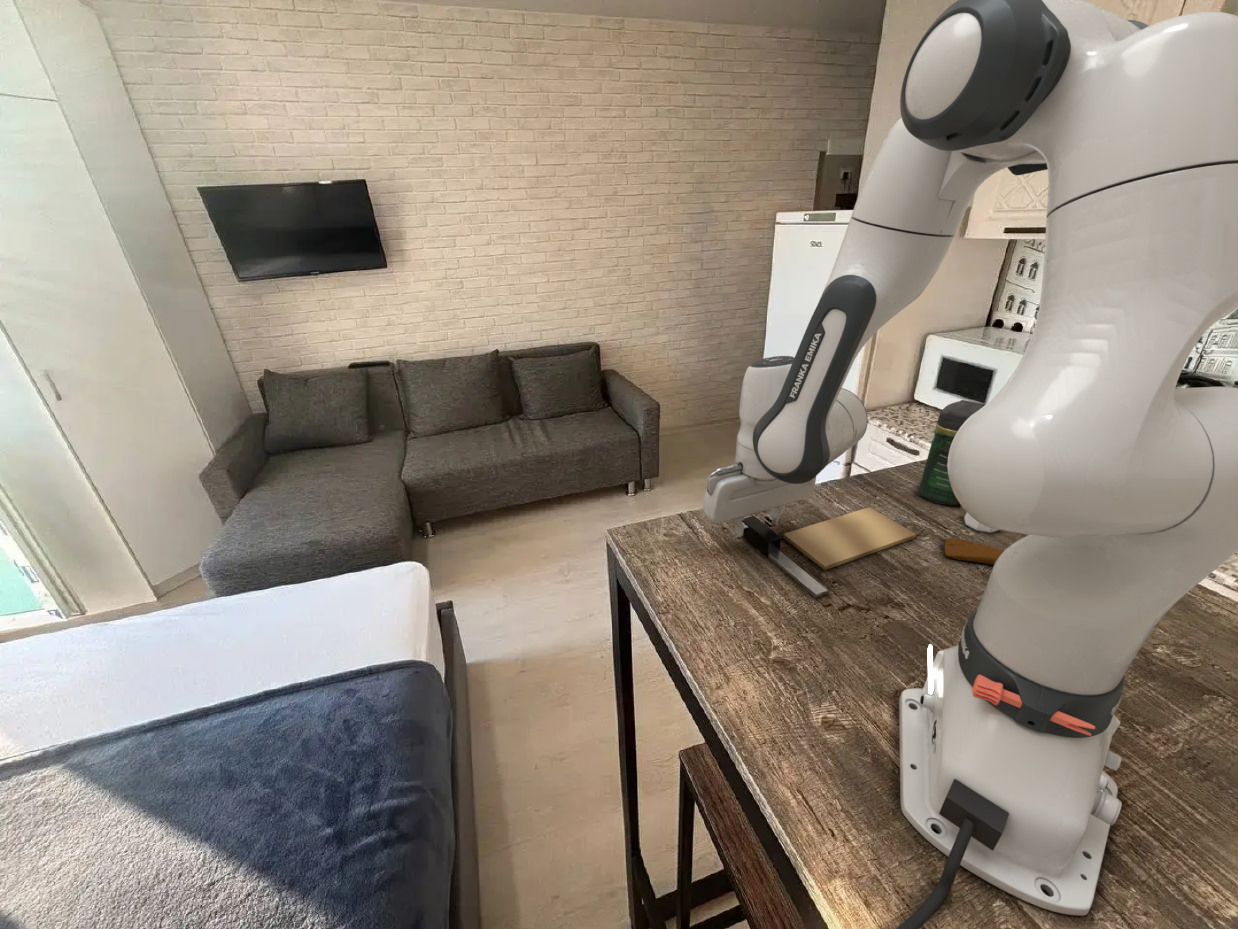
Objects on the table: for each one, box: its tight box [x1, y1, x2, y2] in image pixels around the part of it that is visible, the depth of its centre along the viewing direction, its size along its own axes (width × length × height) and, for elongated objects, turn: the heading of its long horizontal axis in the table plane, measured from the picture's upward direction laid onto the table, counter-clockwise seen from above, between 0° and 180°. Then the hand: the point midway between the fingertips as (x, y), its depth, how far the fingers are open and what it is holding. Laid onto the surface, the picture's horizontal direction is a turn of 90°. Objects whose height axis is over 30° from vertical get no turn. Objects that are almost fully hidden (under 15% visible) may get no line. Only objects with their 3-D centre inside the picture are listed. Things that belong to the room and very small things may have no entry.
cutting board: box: [782, 506, 917, 571], centre depth 88 cm, size 20×10×1 cm, turn 113°
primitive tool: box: [944, 537, 1006, 566], centre depth 79 cm, size 19×6×4 cm, turn 61°
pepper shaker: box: [963, 512, 999, 534], centre depth 88 cm, size 5×5×11 cm
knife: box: [741, 515, 829, 599], centre depth 82 cm, size 18×3×3 cm, turn 23°
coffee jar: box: [917, 399, 986, 506], centre depth 96 cm, size 10×8×19 cm
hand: (756, 529), depth 87 cm, fingers open, 5 cm apart
